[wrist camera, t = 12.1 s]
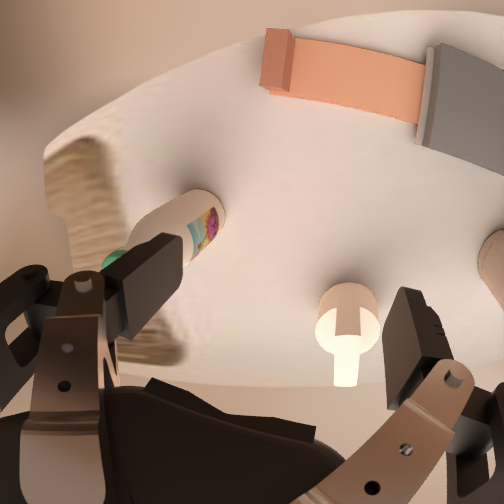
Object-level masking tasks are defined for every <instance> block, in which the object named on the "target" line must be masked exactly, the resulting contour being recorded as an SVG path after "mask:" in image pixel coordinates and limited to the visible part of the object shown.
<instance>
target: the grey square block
mask: <svg viewBox="0 0 504 504" xmlns="http://www.w3.org/2000/svg"><path fill="white" fill-rule="evenodd" d="M415 144H418V145H421V146H425V147H428V148H431V149H434V150H437V151H440V152H443V153H446V154H449V155H452V156H454V157H457V158H460V159H463V160H465V161H468V162H471V163H473V164H476V165H478V166H481V167H483V168H486V169H488V170H491V171H493V172H496V173H498V174H500V175H503V176H504V70H502V69H500V68H498V67H496V66H494V65H492V64H490V63H488V62H486V61H484V60H482V59H479V58H477V57H475V56H473V55H470V54H468V53H466V52H463V51H461V50H459V49H456V48H454V47H451V46H448V45H446V44H443V43H441V44H440V45H438V46H437V47H435V48H432V47H429V46H428V47H427V54H426V66H425V76H424V85H423V93H422V101H421V108H420V115H419V121H418V127H417V133H416V139H415Z"/></svg>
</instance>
